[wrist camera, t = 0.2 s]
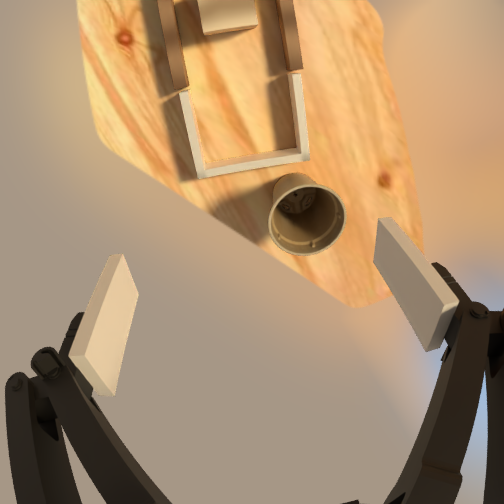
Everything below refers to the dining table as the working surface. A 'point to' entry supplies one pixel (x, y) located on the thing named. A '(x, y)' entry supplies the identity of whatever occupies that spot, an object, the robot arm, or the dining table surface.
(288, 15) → the slot rails
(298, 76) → the corral
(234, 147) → the dining table surface
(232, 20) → the beige square block
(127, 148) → the dining table surface
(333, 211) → the flower pot
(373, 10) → the dining table surface
